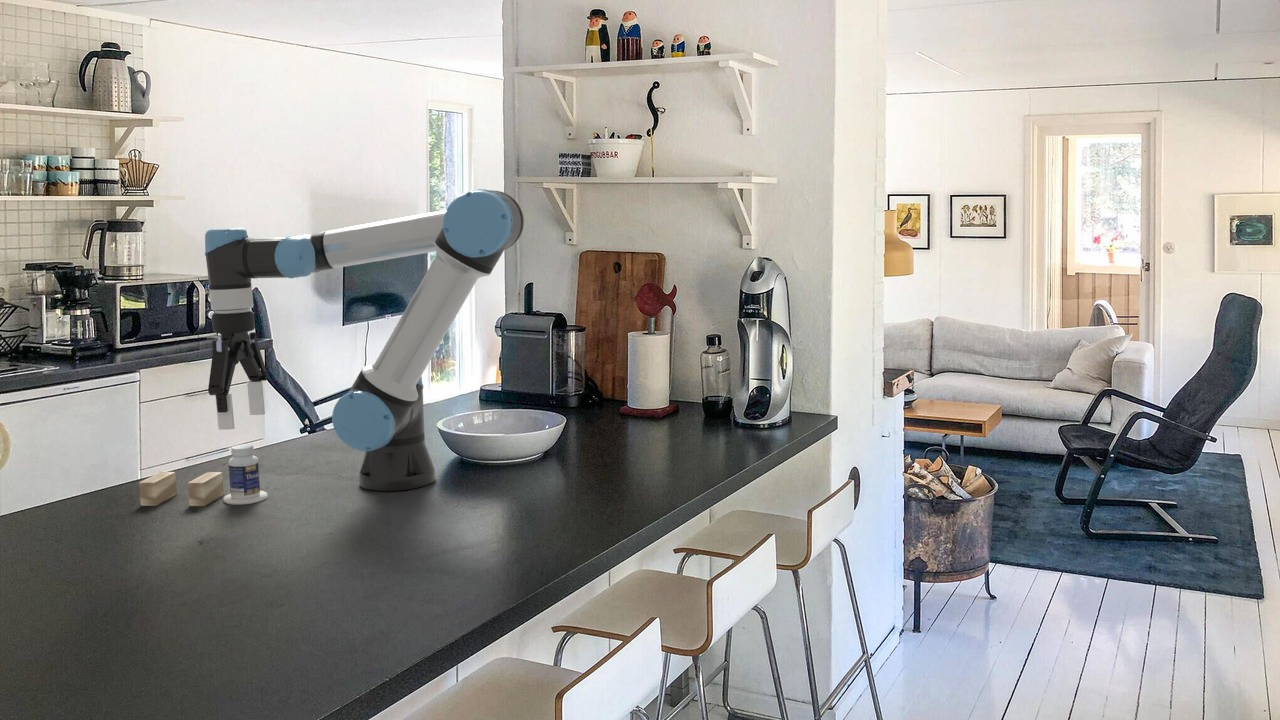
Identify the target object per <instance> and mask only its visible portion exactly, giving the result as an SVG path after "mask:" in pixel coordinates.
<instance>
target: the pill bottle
mask: <svg viewBox="0 0 1280 720" xmlns="http://www.w3.org/2000/svg"><path fill="white" fill-rule="evenodd" d="M254 450H255V449H254V445H253V444H250V443H249V444H247V443H246V444H245V443H243V444H237V445H233V446H231V451H230V452H231V455H232V456H231V458H230V459H229V460H228V477H229V487H230V494H231V497H232V498H236V499H248V498H253V497H256V496H258V495H259V494H260V491H261V484H260V482H261V481H260V467H259V459H258V457H257V456H256V455H253V454H254V453H255V452H254Z"/></svg>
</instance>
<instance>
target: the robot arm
mask: <svg viewBox="0 0 1280 720" xmlns="http://www.w3.org/2000/svg"><path fill="white" fill-rule="evenodd" d="M524 226H525V218H524V213H523V210H522V207H521V206H520V204H519V203H518V201H517V200H516V199H515V198H514V197H512V196H511V195H509V194H508V193H506V192H503V191H499V190H493V189H491V190H490V189H486V188H484V189H481V188H475V189H471V190H467V191H466V192H463V193H462V194H459V195H458V196H457V197H456V198H454V199H453V200H452V201H451V202H450V203H449V205H448V207H446V209H444V210H439V211H434V212H433V211H432V212H427V213H420V214H416V215H410V216H404V217H399V218H398V217H397V218H393V219H387V220H380V221H375V222H370V223H364V224H358V225H353V226H348V227H347V226H346V227H343V228H337V229H331V230H326V231H325V230H324V231H319V232H318V231H317V232H312V233H307V234H306V233H305V234H300V235H291V236H277V237H276V236H275V237H258V238H257V237H256V238H252V237H249V236H248V232H247V230H246V229H245V228H244V227H235V228H232V227H229V228H211V229H208V230H207V231H205V233H204V248H205V249H204V250H205V251H204V256H205V261H206V270H207V276H208V277H207V279H208V289H209V290H208V291H209V294H208V295H207V296H208V299H210V309H211V310H212V311H214V312H213V313H212V314H211V323H212V331H213V333H215V334H219V335H220V337H221V338H220V340H212V344H211V345H212V356H211V365H210V371H209V372H210V373H209V379H208V387H207V388H208V391H207V392H208V394H209V395H210V396H214V397H215V405H216V415H217V425H218V430H219V431H220V430H224V431H225V430H234V429H236V427H235V420H234V419H235V417H234V416H235V415H234V407H233V396H232V393H229V392H230V388H231V386H232V385H231V384H232V381H233V376H234V373H235V369H236V366H237V365H238V364H239V363H240V365H241V367H242V369H243V371H244V373H245V374H246V376H247V378H248V380H249V381H247V382H246V384H247V394H248V395H247V396H248V406H249V415H250V416H259V415H262V416H263V415H265V414H266V411H265V399H264V389H263V387H264V386H263V381H265V382H266V381H267V380H268V371H267V369H266V364H265V362H264V358H263V356H262V353H261V349H260V346H259V343H258V336H257V332H255V331H254V330H255V329H256V322H255V312H253V310H251V309H253V308H254V306H255V305H254V298H253V297H254V295H253V288H252V279H280V278H281V279H282V278H283V279H285V278H286V279H287V278H288V279H295V278H296V279H297V278H303V277H309V276H310V275H311V274H312V273H319V272H323V271H329V270H334V269H339V268H344V267H345V268H346V267H350V266H357V265H362V264H368V263H369V264H370V263H374V262H381V261H387V260H392V259H399V258H404V257H412V256H417V255H423V254H428V253H435V252H436V255H435V258H434V259H433V261H432V263H431V264H430V266H429V268H428V270H427V271H426V273H425V274H424V277H423V278H422V280H421V282H420V284H419V285H418V287H417V289H416V291H414V294H413V295H412V298H411V299H410V301H409V302H408V305H407V306H406V308H405V310H404V311H403V313H402V315H401V317H400V318H399V320H398V322H397V324H396V326H395V328H394V329H393V331H392V333H391V334H390V336H389V338H388V339H387V341H386V343H385V345H384V346H383V348H382V351H380V354H379V356H378V357H377V359H376V361H375V363H372V364H367V365H365V366H363V367H362V368H361V370H360V372H359V374H358V375H357V376H356V378H355V380H354V382H353V384H352V385H351V387H350V389H349V391H348V392H346V393H344V394H343V395H341V397H340V398H339V399H338V400H337V402H336V403H335V405H334V407H333V409H332V410H333V411H332V415H331V421H332V422H331V423H332V426H333V429H334V432H335V434H336V435H337V437H338V438H339V440H340V441H341V442H342V443H344V444H345V445H346V446H348V447H349V448H351V449H352V450H356V451H360V452H364V453H363V456H362V457H363V458H362V462H361V464H360V468H359V471H358V484H359V486H360V487H361V488H363V489H366V490H369V491H376V492H379V491H380V492H386V491H387V492H392V491H395V492H398V491H405V490H412V489H413V490H414V489H419V488H422V487H425V486H428V485H430V484H432V483H434V482H435V481H436V471H435V470H436V468H435V465H434V463H433V461H432V458H431V455H430V452H429V450H428V447H427V444H426V440H425V437H426V436H425V435H426V434H425V416H424V415H425V414H424V384H423V378H422V375H423V374H424V372H425V370H426V369H427V367H428V365H429V363H430V362H431V360H432V358H433V356H434V355H435V353H436V352H437V350H438V348H439V346H440V344H441V343H442V341H443V340H444V338H445V336H446V334H447V332H448V331H449V329H450V327H451V325H452V324H453V322H454V321H455V318H456V317H457V316H458V314H459V312H460V310H461V308H462V306H463V305H464V304H465V301H466V300H467V298H468V296H469V294H470V293H471V291H472V290H473V288H474V286H475V284H476V283H477V282H478V280H479V279H480V278H483V277H484V278H485V277H488V276H490V275H491V274H492V271H493V270H494V269H495V267H496V265H497V263H498V261H499V260H500V258H501V256H502V255H503V253H504V251H506V250H508V249H510V248H511V247H513V246H514V245H515V244H516V243H517V242H518V241H519V239H520V237H521V236H522V234H523V231H524Z"/></svg>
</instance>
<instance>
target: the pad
mask: <svg viewBox="0 0 1280 720" xmlns="http://www.w3.org/2000/svg"><path fill="white" fill-rule="evenodd" d="M268 498H269V496H268V492H267V491H264V490H260V494H259V495H258V496H256V497H253V498H248V499H236V498H232V497H231V493H229V494H226V495H225V496H224V495H223V503H225V504H227V505H233V506H234V505H236V506H239V505H240V506H241V505H242V506H243V505H251V504H256V503H259V502H262V501H265V500H267V499H268Z"/></svg>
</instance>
